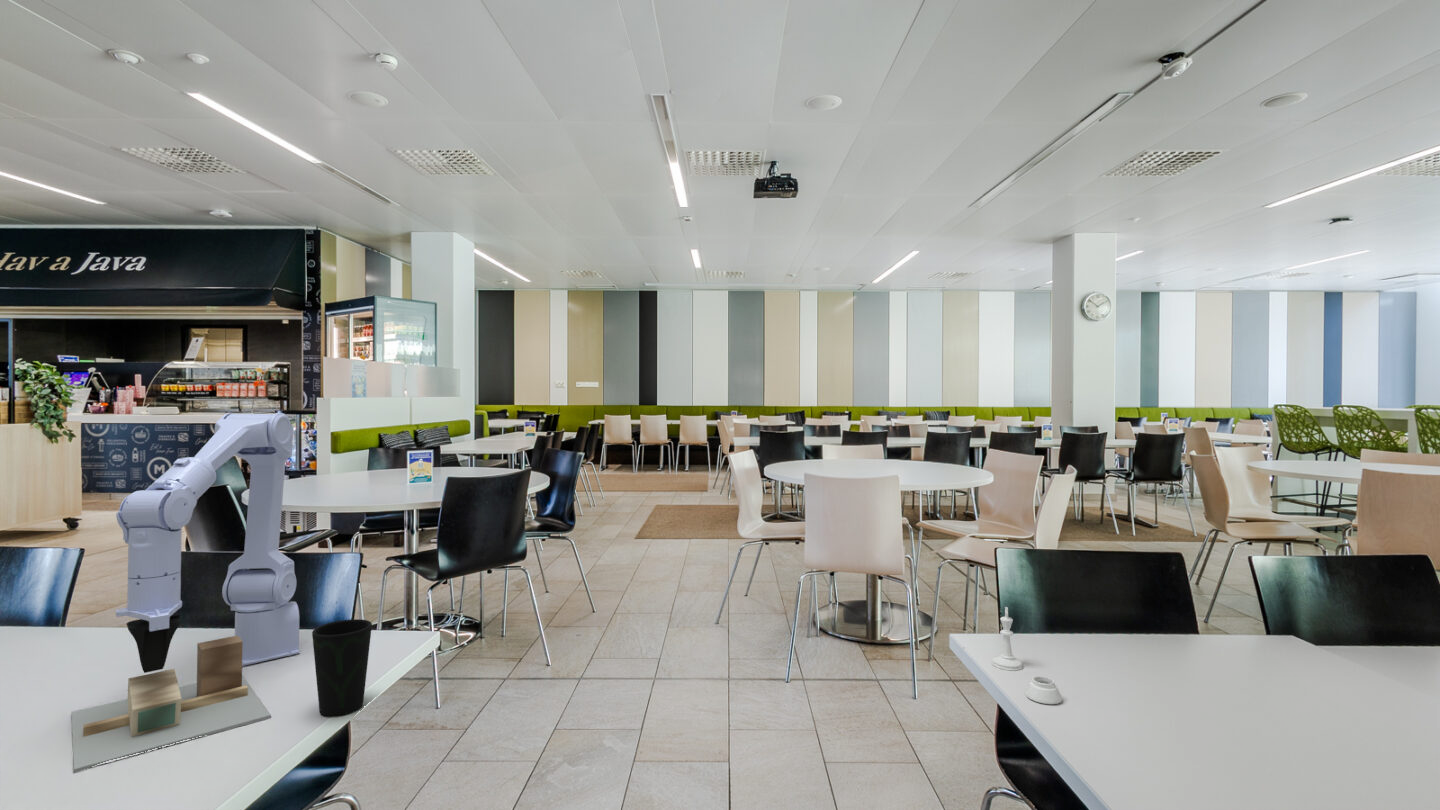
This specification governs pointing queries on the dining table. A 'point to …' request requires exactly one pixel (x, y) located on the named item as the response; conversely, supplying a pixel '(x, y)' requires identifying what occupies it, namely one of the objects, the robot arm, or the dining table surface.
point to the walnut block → (219, 665)
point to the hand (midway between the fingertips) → (153, 669)
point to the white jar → (1043, 691)
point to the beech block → (153, 702)
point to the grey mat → (191, 726)
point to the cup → (341, 665)
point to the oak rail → (185, 706)
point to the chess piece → (1006, 648)
